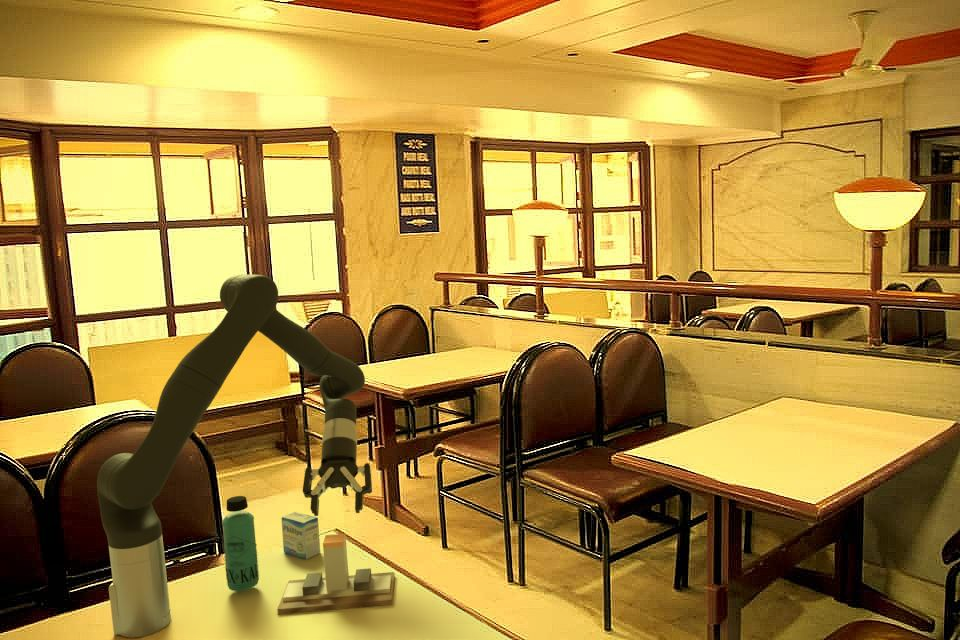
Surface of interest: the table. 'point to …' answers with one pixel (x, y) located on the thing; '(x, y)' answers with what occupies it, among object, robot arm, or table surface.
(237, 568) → the beverage bottle
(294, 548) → the medicine box
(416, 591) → the table surface
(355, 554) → the table surface
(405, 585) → the table surface
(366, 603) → the rail board
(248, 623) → the table surface
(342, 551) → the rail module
